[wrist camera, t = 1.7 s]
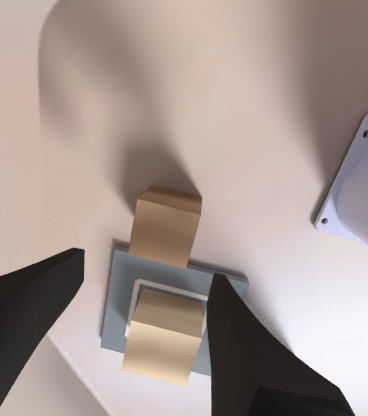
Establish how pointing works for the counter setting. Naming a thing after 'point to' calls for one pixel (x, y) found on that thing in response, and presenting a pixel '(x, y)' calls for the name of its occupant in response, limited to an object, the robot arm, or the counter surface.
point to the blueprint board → (161, 282)
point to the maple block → (164, 337)
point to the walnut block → (165, 226)
